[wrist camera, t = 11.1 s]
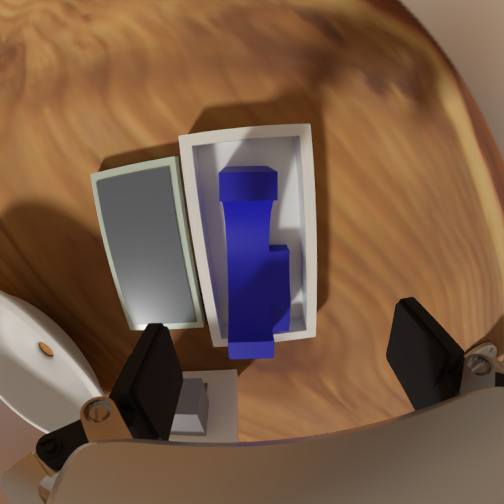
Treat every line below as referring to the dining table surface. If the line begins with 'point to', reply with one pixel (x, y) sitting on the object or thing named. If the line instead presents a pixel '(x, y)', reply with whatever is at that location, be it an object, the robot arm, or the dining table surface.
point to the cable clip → (253, 262)
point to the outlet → (207, 407)
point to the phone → (149, 243)
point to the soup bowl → (41, 368)
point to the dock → (281, 222)
